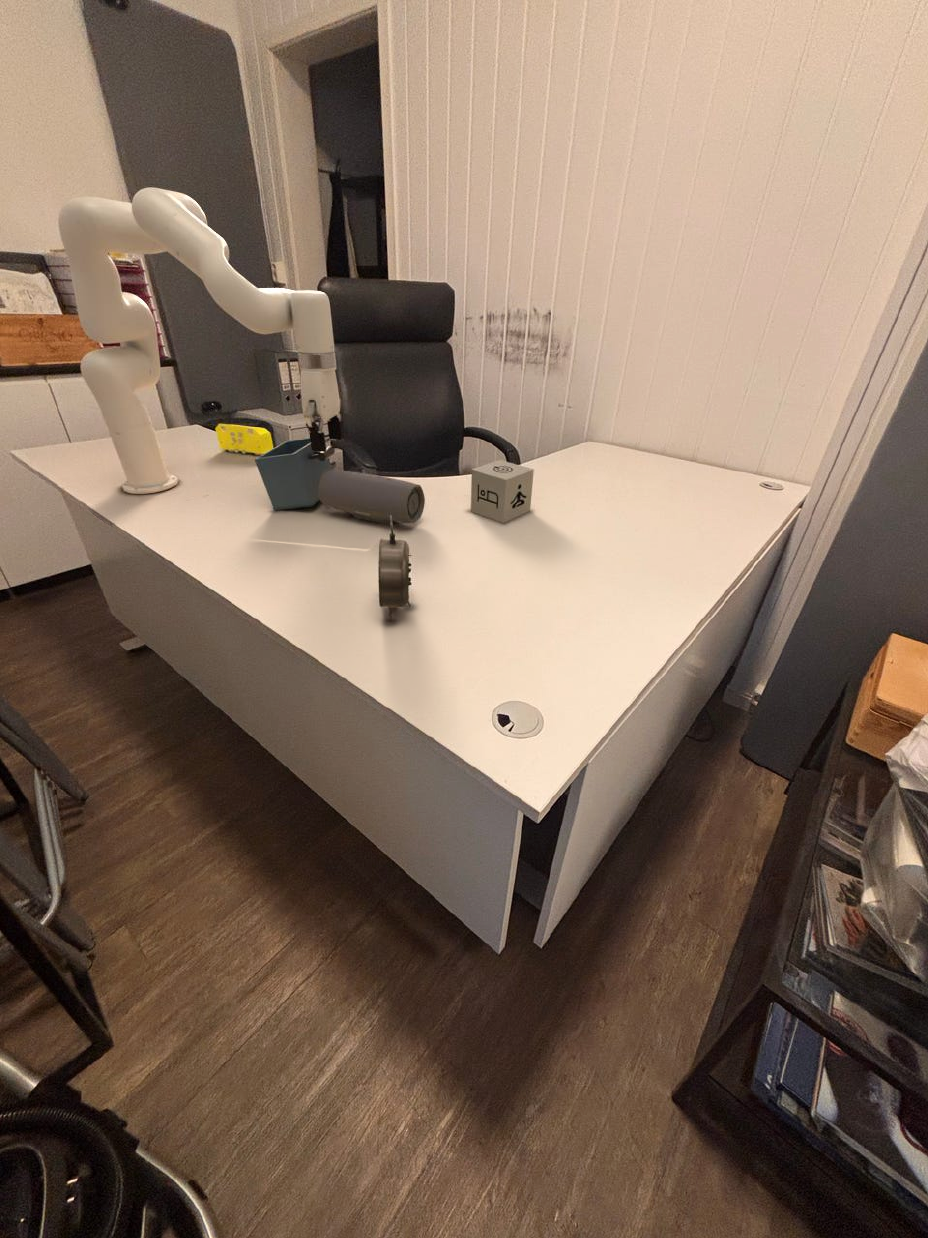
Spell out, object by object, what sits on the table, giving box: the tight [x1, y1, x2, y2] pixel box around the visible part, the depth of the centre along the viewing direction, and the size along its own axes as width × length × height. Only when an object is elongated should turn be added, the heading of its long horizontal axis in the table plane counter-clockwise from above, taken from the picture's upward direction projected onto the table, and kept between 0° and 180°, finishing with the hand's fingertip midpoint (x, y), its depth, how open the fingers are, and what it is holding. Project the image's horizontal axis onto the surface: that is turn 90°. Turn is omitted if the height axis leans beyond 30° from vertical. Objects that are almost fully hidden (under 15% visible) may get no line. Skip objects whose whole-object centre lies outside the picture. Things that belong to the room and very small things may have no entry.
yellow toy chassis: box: [214, 423, 274, 456], centre depth 155 cm, size 16×6×8 cm, turn 71°
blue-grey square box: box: [254, 437, 336, 511], centre depth 120 cm, size 12×15×14 cm
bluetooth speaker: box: [318, 469, 426, 525], centre depth 113 cm, size 23×9×10 cm, turn 66°
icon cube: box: [470, 459, 535, 524], centre depth 117 cm, size 10×10×10 cm
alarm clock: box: [377, 516, 412, 623], centre depth 81 cm, size 11×5×16 cm, turn 5°
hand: (327, 444), depth 115 cm, fingers open, 9 cm apart
